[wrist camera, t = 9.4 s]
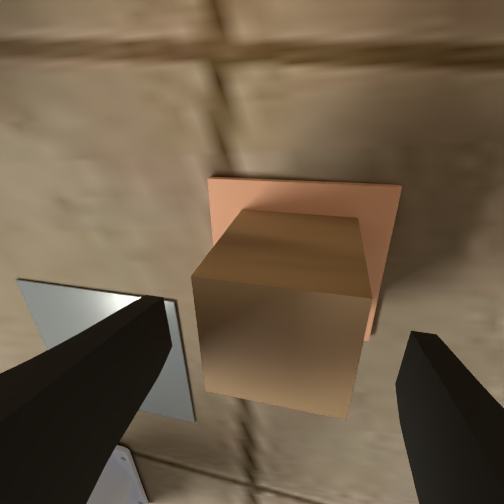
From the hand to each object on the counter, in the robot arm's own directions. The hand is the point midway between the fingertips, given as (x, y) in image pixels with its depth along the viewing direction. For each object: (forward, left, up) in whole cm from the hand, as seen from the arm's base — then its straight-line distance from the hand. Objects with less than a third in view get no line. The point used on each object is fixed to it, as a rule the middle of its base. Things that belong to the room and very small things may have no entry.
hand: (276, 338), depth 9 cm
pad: (0, 0, -5) cm, 5 cm away
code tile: (-8, +11, -5) cm, 14 cm away
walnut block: (0, 0, -4) cm, 4 cm away
